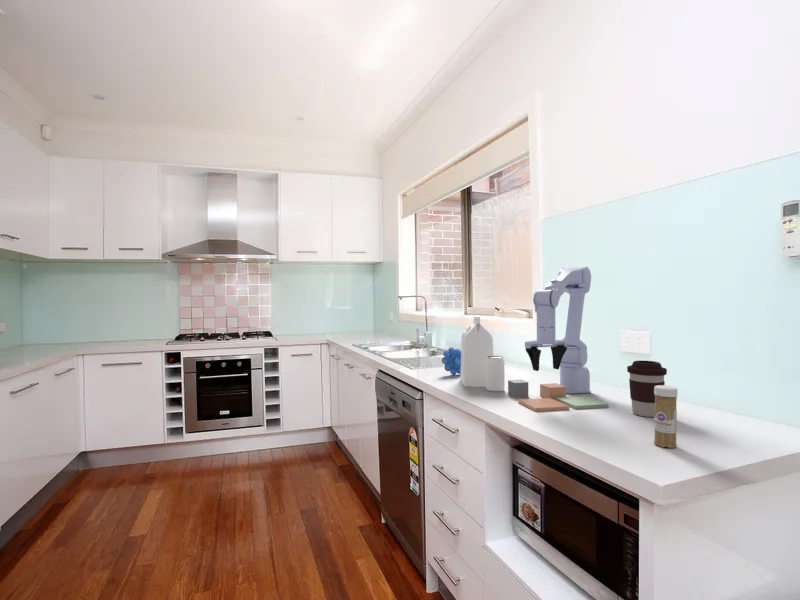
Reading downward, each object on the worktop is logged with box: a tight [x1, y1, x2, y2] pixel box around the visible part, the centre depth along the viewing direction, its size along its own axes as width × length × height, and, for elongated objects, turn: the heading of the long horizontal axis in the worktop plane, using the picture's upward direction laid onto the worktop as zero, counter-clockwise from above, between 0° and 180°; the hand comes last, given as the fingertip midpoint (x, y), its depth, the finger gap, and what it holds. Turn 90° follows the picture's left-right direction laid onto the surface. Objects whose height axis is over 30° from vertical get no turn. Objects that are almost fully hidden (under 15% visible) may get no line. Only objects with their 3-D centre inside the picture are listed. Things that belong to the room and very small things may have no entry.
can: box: [485, 355, 506, 393], centre depth 163 cm, size 6×6×12 cm
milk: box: [459, 315, 495, 388], centre depth 176 cm, size 12×12×26 cm
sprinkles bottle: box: [653, 384, 678, 449], centre depth 103 cm, size 5×5×13 cm
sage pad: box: [556, 395, 609, 410], centre depth 142 cm, size 11×11×1 cm
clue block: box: [539, 382, 567, 400], centre depth 151 cm, size 6×6×4 cm
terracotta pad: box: [517, 397, 570, 413], centre depth 140 cm, size 11×11×1 cm
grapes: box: [441, 346, 461, 376], centre depth 193 cm, size 12×7×12 cm, turn 113°
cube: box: [507, 379, 529, 398], centre depth 154 cm, size 5×5×5 cm
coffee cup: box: [626, 360, 668, 418], centre depth 130 cm, size 10×10×15 cm
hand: (546, 369), depth 145 cm, fingers open, 7 cm apart
